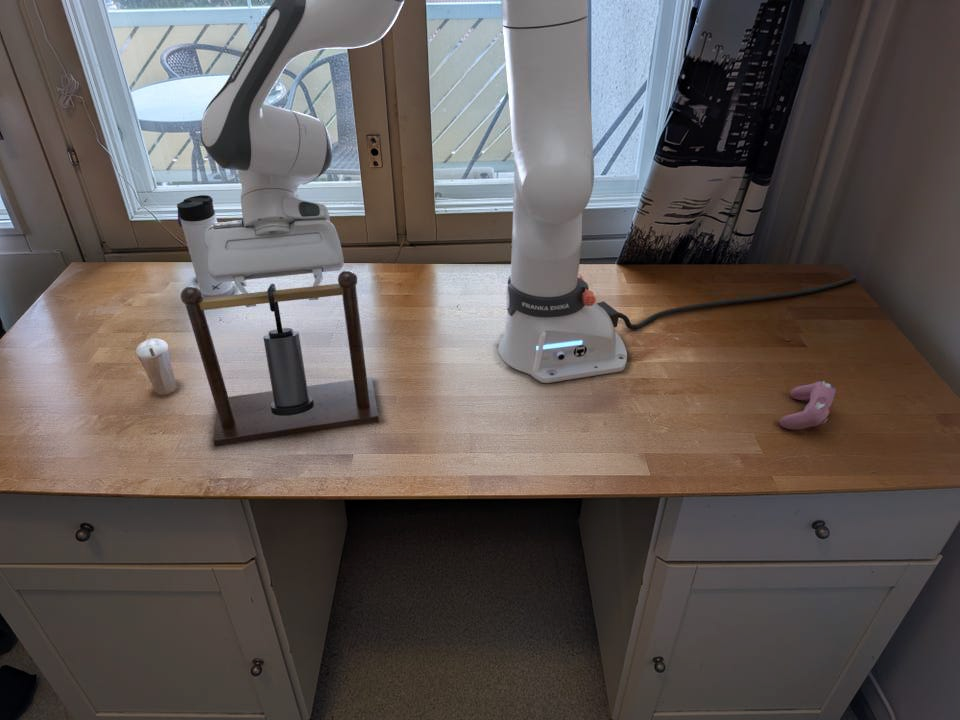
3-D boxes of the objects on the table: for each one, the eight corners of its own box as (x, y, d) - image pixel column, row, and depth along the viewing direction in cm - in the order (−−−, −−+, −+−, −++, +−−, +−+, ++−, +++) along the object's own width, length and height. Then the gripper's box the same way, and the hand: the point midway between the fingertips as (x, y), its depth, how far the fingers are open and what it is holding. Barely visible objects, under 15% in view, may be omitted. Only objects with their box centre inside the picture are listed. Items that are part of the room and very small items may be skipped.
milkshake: (153, 404, 102) (133, 352, 97) (149, 385, 106) (131, 334, 100) (183, 396, 104) (166, 344, 98) (179, 378, 108) (162, 327, 102)
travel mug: (225, 302, 128) (201, 206, 116) (195, 298, 129) (167, 202, 118) (241, 287, 133) (219, 193, 121) (211, 283, 134) (187, 190, 123)
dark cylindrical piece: (273, 404, 96) (252, 282, 91) (314, 398, 97) (296, 277, 92) (268, 424, 88) (245, 291, 83) (313, 417, 89) (293, 286, 84)
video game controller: (800, 444, 98) (836, 420, 93) (775, 424, 99) (810, 399, 94) (811, 409, 105) (845, 385, 100) (788, 390, 106) (821, 365, 101)
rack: (220, 404, 103) (179, 264, 88) (372, 383, 107) (357, 247, 93) (214, 446, 95) (169, 300, 80) (379, 421, 99) (363, 280, 85)
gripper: (197, 215, 97) (206, 304, 95) (336, 204, 101) (348, 289, 99) (207, 231, 103) (216, 315, 101) (337, 220, 107) (348, 300, 105)
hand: (282, 302), depth 100 cm, fingers open, 8 cm apart
